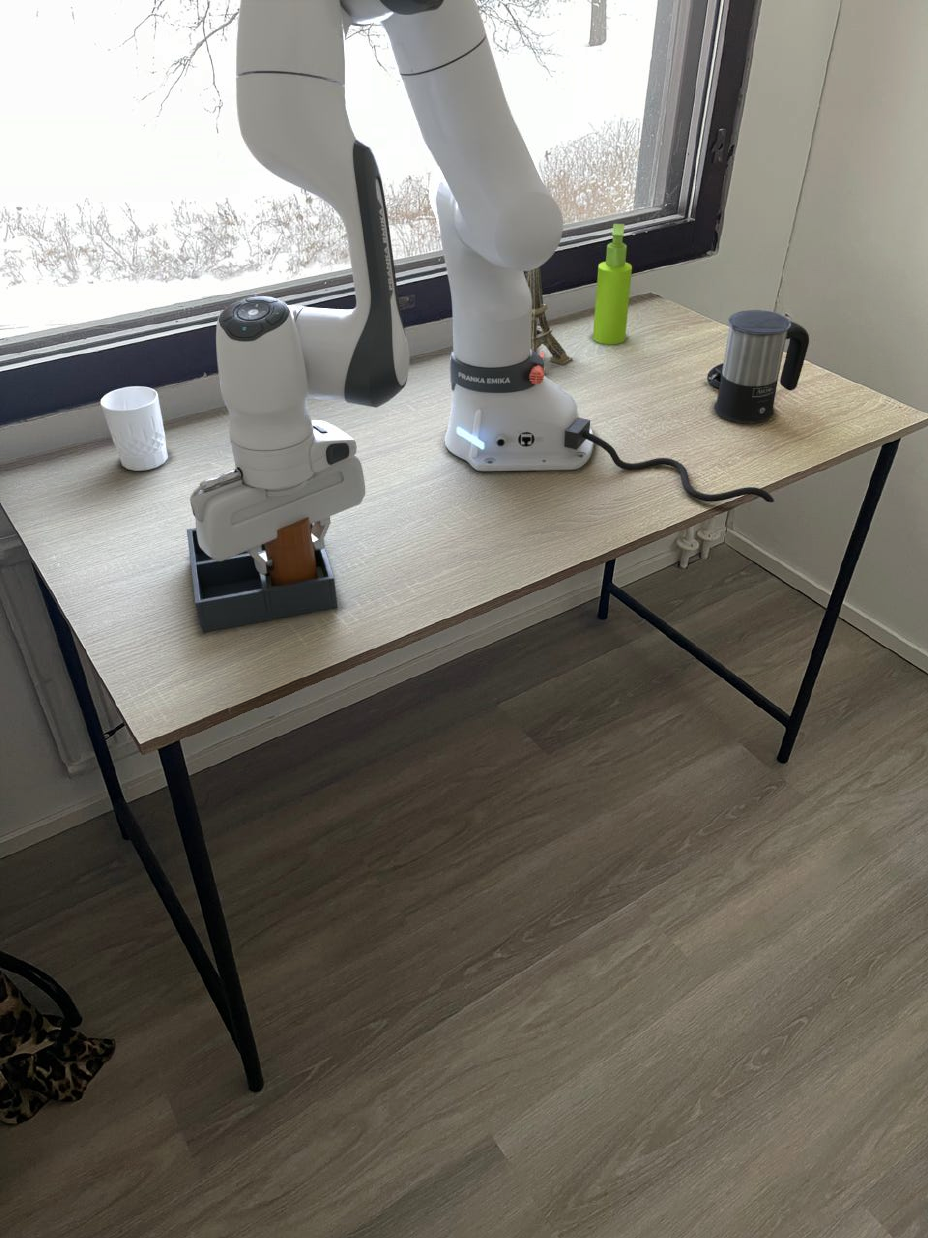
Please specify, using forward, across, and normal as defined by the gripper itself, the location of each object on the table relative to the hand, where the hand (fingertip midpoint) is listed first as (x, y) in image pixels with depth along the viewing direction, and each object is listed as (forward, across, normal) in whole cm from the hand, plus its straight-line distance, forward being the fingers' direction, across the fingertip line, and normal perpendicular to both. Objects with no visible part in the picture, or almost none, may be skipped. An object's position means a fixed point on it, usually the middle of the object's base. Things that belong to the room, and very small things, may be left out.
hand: (291, 559), depth 110 cm
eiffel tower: (+5, +67, +32) cm, 74 cm away
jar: (+4, 0, 0) cm, 4 cm away
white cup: (+5, 0, +43) cm, 43 cm away
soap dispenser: (+5, +85, +30) cm, 90 cm away
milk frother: (+5, +82, -2) cm, 82 cm away
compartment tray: (+5, -2, +5) cm, 7 cm away
